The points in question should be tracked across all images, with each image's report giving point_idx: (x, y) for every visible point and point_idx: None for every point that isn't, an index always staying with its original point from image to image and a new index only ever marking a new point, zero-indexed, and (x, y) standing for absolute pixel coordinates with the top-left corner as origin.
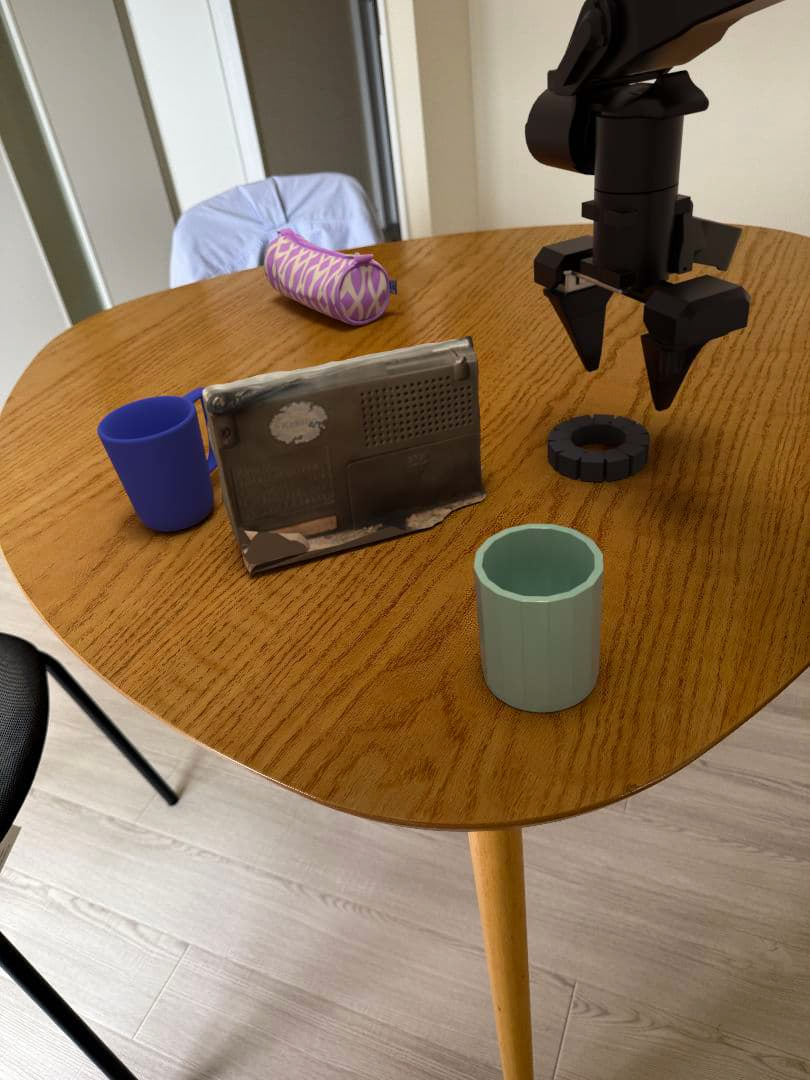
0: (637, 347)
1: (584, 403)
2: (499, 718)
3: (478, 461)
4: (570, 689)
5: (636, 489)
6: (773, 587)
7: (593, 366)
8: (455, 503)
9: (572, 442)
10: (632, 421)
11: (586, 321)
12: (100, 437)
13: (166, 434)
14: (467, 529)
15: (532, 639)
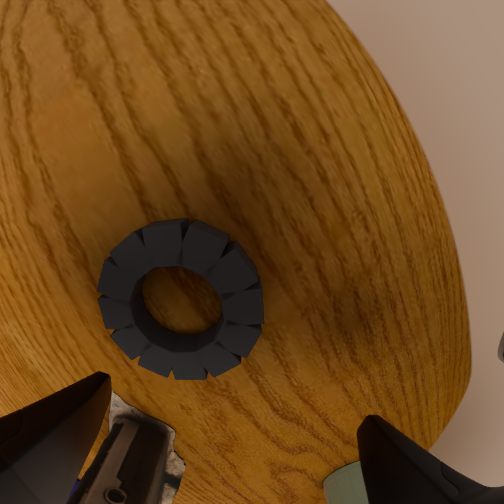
0: (36, 20)
1: (56, 180)
2: None
3: (159, 462)
4: None
5: (287, 326)
6: (456, 345)
7: (106, 392)
8: (168, 449)
9: (140, 314)
10: (176, 229)
11: (50, 488)
12: None
13: None
14: (206, 455)
15: None
